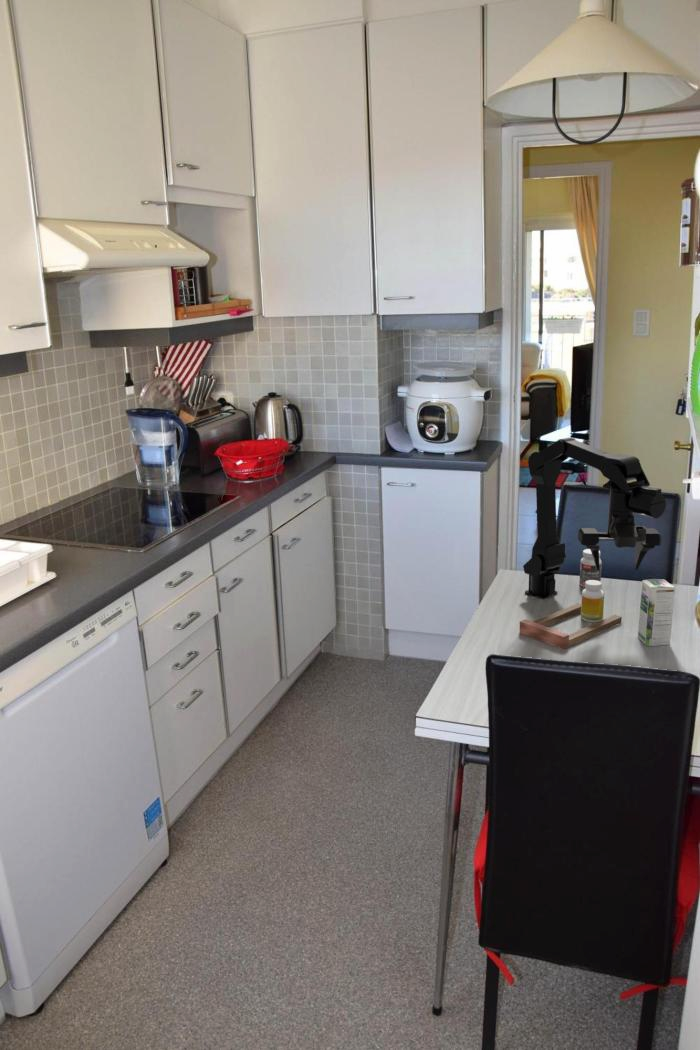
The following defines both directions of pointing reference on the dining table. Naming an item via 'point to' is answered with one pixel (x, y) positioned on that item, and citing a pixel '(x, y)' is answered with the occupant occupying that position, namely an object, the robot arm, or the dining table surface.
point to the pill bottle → (589, 568)
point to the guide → (558, 638)
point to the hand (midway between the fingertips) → (616, 569)
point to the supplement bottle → (592, 601)
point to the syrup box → (656, 612)
